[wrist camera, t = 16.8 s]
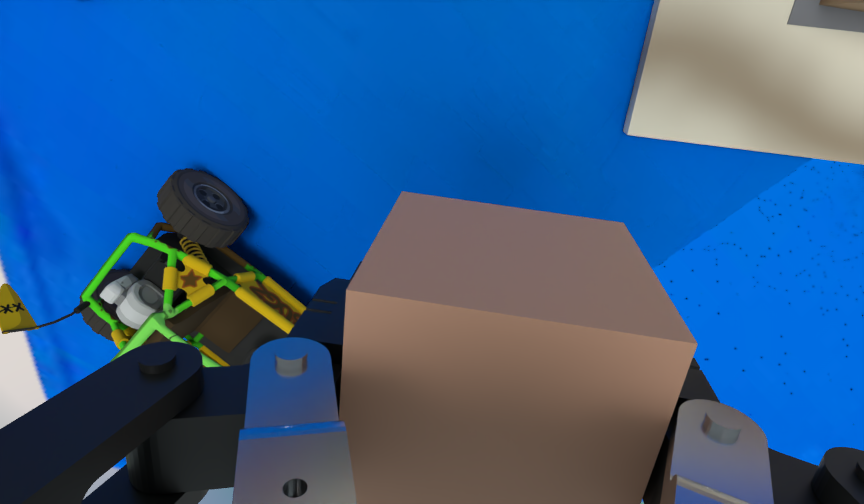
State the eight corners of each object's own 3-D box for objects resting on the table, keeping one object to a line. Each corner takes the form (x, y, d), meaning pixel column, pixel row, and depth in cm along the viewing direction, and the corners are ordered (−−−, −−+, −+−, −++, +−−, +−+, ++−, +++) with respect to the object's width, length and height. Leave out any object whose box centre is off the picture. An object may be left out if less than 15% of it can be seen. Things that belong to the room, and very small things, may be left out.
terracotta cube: (402, 191, 13) (346, 289, 8) (623, 222, 12) (697, 344, 8) (384, 372, 15) (332, 534, 10) (575, 403, 14) (611, 584, 10)
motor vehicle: (306, 429, 37) (247, 557, 29) (87, 255, 34) (-58, 339, 25) (411, 339, 34) (380, 453, 25) (177, 133, 30) (44, 180, 21)
